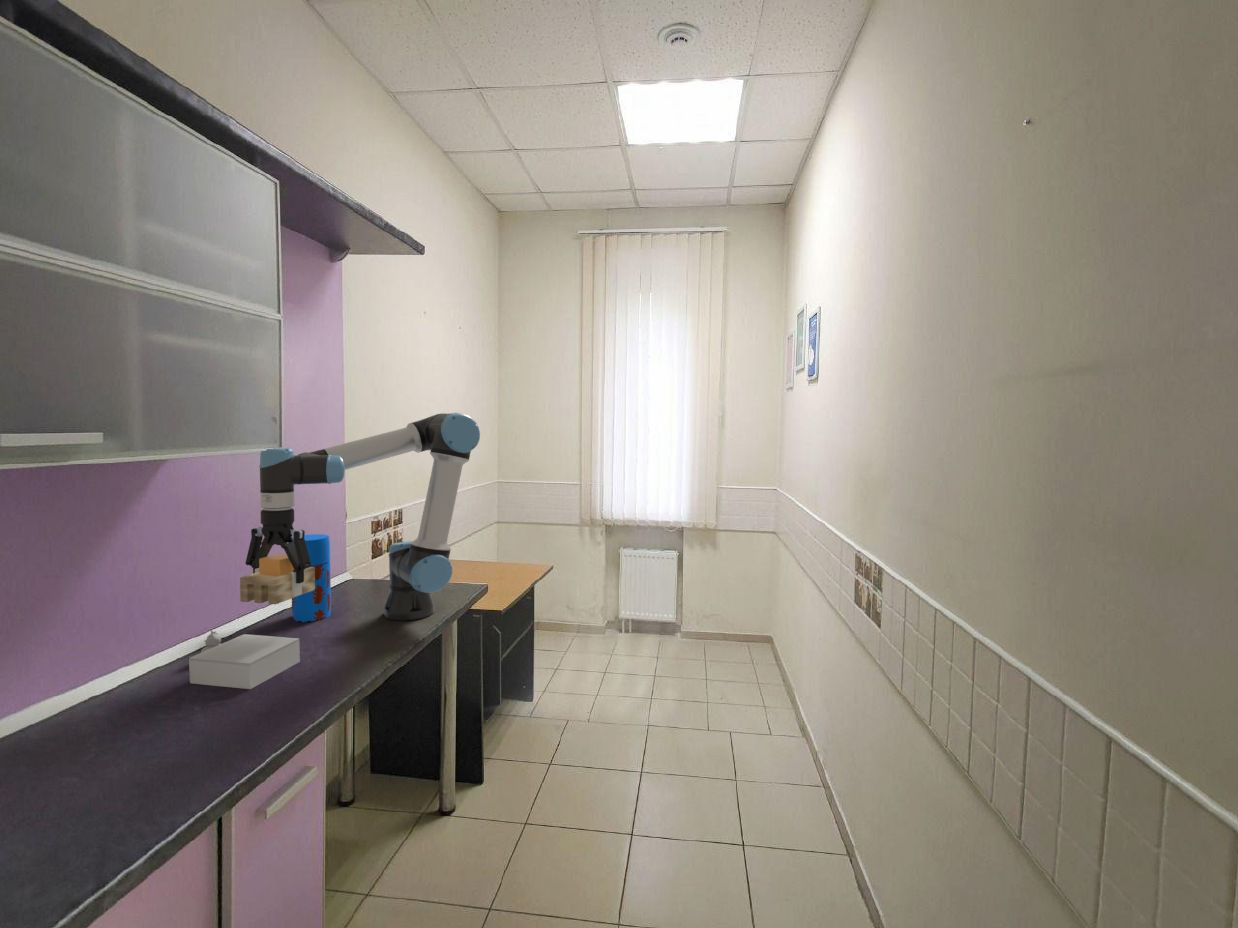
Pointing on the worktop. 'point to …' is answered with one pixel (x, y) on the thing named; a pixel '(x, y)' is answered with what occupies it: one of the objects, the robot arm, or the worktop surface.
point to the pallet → (273, 587)
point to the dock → (244, 661)
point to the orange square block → (275, 565)
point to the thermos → (316, 582)
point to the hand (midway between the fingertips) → (278, 593)
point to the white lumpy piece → (212, 641)
